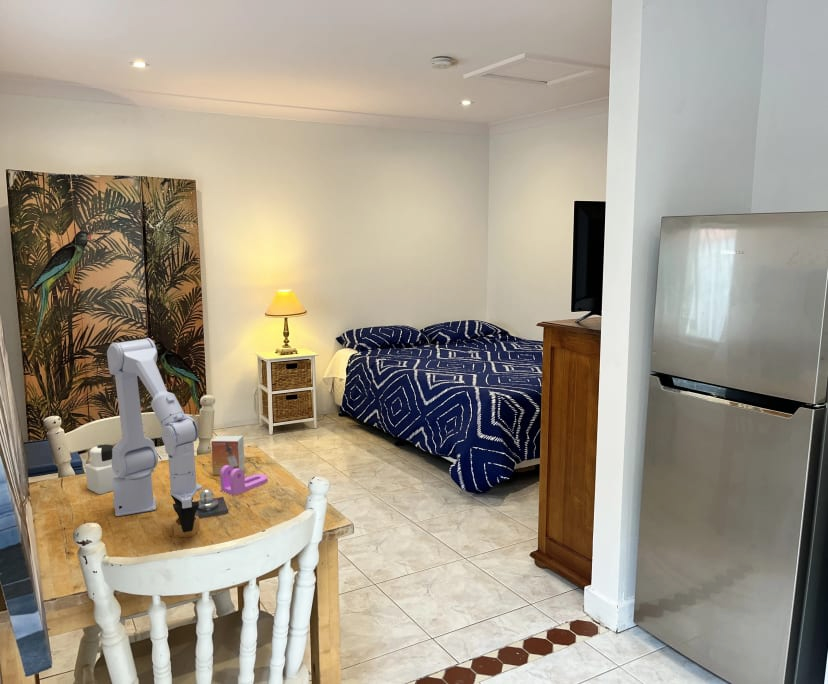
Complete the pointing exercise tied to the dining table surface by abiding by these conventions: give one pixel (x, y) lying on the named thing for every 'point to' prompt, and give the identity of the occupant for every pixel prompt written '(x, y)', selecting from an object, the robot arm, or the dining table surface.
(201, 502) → the stand
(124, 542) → the dining table surface
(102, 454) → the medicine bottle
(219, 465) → the small box
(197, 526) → the wooden ring
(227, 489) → the bracket
